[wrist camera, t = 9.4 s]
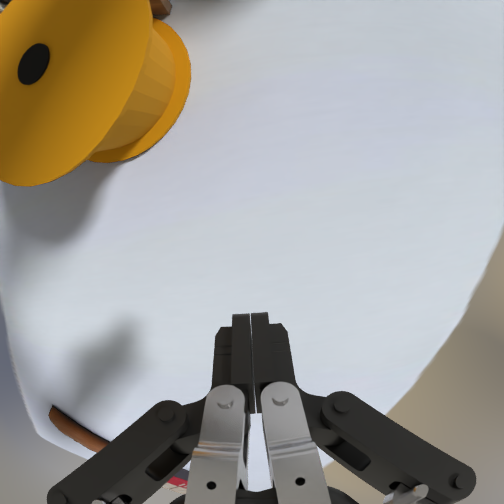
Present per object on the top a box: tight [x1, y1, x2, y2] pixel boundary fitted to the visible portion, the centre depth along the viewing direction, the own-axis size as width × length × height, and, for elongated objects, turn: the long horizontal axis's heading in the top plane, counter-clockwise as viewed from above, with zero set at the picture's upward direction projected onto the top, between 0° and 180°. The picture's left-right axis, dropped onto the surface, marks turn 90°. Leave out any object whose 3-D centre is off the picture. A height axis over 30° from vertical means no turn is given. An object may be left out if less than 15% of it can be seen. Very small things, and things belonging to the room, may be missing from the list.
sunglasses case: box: [48, 406, 110, 453], centre depth 49 cm, size 18×7×7 cm
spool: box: [0, 0, 191, 186], centre depth 19 cm, size 18×18×15 cm
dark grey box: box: [162, 469, 189, 494], centre depth 55 cm, size 11×4×15 cm
